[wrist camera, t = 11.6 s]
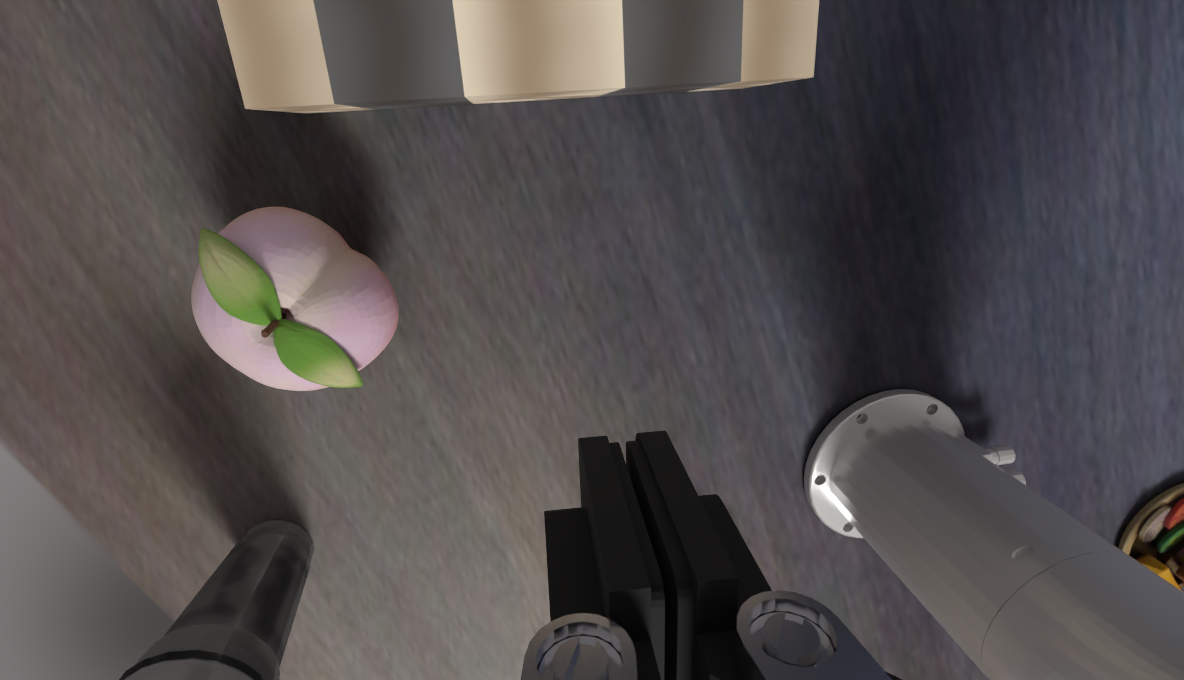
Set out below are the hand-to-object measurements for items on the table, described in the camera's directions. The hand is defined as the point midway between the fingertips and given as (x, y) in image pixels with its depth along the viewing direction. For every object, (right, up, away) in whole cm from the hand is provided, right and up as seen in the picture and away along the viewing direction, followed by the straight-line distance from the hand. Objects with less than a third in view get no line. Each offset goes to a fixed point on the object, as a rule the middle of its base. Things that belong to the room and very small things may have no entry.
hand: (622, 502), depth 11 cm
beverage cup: (-22, -11, +28) cm, 37 cm away
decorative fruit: (-16, +7, +22) cm, 28 cm away
